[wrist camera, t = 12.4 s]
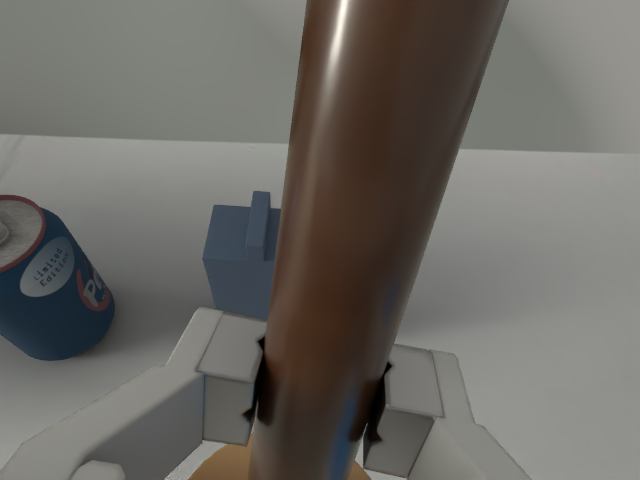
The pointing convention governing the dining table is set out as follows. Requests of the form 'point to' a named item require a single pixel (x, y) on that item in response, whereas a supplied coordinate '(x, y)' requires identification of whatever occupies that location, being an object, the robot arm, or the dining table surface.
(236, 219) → the stand
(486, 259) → the dining table surface
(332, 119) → the brush
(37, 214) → the soda can
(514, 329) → the dining table surface
